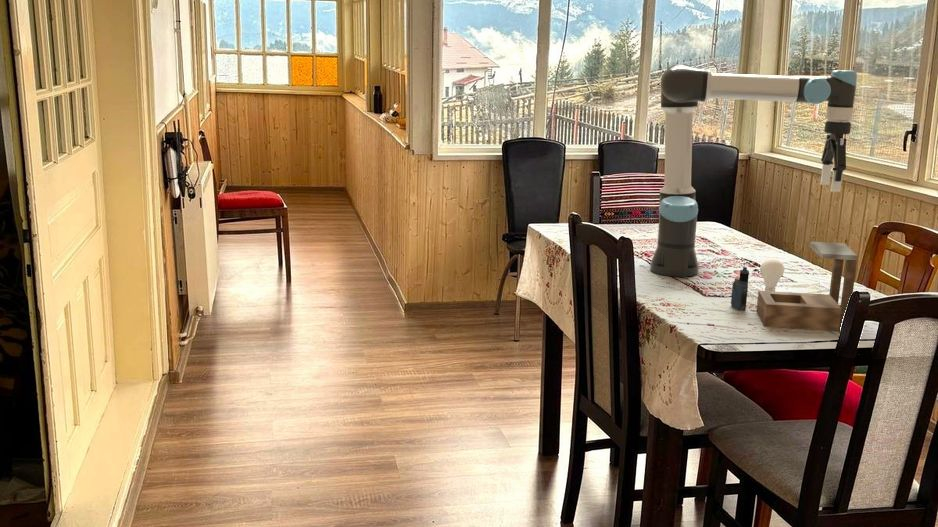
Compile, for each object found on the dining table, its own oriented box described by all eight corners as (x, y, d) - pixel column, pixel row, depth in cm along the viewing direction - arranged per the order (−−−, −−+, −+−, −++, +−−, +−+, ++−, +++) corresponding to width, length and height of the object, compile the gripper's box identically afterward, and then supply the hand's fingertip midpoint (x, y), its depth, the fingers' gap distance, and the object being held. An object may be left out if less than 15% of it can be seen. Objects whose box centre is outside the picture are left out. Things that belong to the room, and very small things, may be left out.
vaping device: (739, 311, 238) (743, 268, 235) (728, 305, 243) (732, 264, 240) (747, 310, 239) (751, 268, 236) (737, 305, 243) (741, 263, 241)
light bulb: (762, 290, 259) (766, 254, 256) (784, 294, 255) (788, 258, 252) (754, 294, 254) (757, 258, 251) (776, 299, 250) (780, 262, 247)
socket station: (764, 326, 225) (772, 251, 220) (756, 311, 238) (763, 239, 233) (847, 332, 222) (857, 255, 217) (834, 315, 235) (843, 243, 230)
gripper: (862, 124, 258) (853, 195, 263) (840, 118, 282) (832, 182, 287) (836, 123, 259) (827, 194, 264) (816, 117, 283) (808, 181, 288)
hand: (830, 188), depth 276 cm, fingers open, 13 cm apart
